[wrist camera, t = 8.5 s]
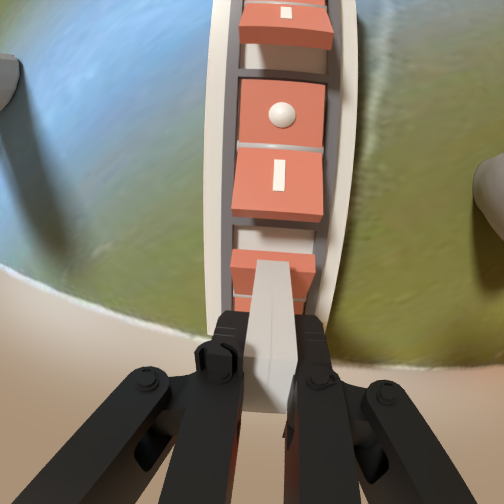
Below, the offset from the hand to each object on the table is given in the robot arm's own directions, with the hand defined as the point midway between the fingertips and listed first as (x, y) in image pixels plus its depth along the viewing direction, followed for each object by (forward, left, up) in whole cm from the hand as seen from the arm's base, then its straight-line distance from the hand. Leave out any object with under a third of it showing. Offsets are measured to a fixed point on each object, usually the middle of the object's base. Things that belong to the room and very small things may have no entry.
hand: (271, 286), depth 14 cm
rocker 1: (-15, 0, -3) cm, 16 cm away
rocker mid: (-6, 0, -3) cm, 7 cm away
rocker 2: (+2, 0, -3) cm, 4 cm away
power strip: (-11, 0, -9) cm, 14 cm away
